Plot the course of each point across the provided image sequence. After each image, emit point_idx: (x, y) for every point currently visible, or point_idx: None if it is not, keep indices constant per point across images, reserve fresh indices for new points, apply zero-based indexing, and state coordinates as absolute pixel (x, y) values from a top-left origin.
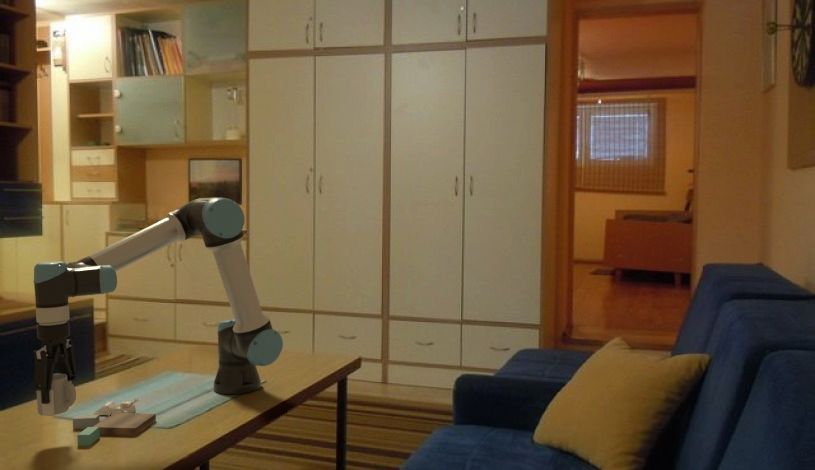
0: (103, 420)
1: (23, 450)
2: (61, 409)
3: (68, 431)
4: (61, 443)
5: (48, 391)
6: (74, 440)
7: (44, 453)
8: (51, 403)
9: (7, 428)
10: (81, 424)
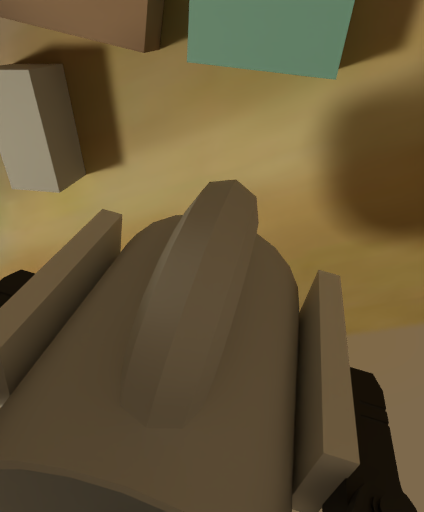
0: (30, 17)
1: None
2: (266, 250)
3: (116, 184)
4: (274, 169)
5: (358, 473)
6: (240, 118)
7: (403, 207)
8: (345, 347)
9: None
10: (67, 143)
